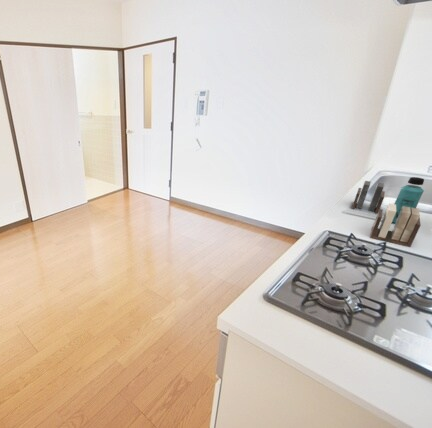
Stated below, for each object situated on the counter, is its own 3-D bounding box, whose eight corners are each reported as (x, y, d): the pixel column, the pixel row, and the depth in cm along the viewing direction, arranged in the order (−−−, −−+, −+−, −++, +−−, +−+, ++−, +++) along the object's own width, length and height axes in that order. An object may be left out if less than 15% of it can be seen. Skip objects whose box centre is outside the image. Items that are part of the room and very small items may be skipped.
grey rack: (377, 209, 128) (388, 182, 123) (376, 216, 122) (387, 188, 117) (352, 205, 134) (361, 179, 128) (350, 211, 128) (359, 184, 122)
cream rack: (409, 237, 106) (422, 208, 101) (410, 247, 100) (424, 217, 95) (371, 229, 113) (382, 201, 108) (370, 237, 107) (381, 209, 102)
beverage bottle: (383, 219, 119) (402, 174, 111) (404, 222, 116) (424, 176, 108) (389, 226, 114) (409, 179, 106) (411, 229, 111) (433, 181, 103)
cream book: (385, 230, 109) (396, 204, 105) (385, 238, 104) (396, 211, 100) (378, 228, 111) (389, 203, 106) (378, 236, 105) (388, 210, 101)
